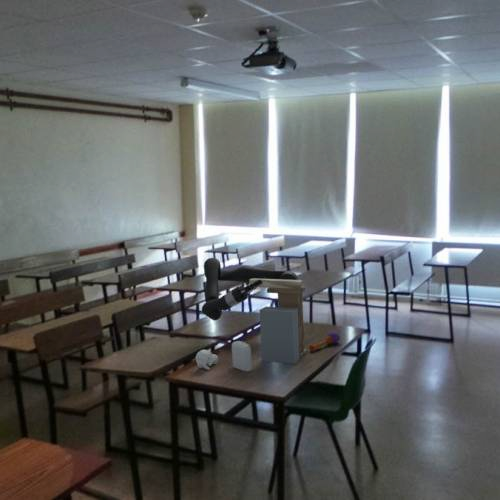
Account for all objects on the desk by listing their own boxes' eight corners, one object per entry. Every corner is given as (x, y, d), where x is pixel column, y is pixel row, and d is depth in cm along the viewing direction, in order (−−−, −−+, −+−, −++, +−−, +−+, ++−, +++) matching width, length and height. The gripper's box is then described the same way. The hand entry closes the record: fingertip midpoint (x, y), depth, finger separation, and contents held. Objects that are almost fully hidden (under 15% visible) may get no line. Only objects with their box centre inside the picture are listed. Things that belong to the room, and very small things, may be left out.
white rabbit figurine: (194, 350, 250) (211, 345, 260) (194, 369, 250) (211, 363, 260) (204, 352, 246) (221, 347, 256) (204, 371, 247) (221, 365, 256)
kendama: (306, 342, 270) (331, 330, 284) (308, 354, 270) (333, 341, 284) (315, 342, 266) (340, 330, 279) (318, 354, 266) (343, 341, 280)
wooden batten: (252, 285, 272) (252, 278, 272) (303, 287, 261) (302, 280, 261) (249, 286, 269) (249, 279, 269) (300, 289, 258) (300, 281, 257)
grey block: (267, 356, 265) (265, 306, 261) (299, 359, 258) (297, 308, 255) (261, 360, 258) (259, 309, 255) (294, 364, 251) (292, 311, 248)
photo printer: (231, 367, 251) (229, 340, 250) (238, 364, 254) (237, 338, 252) (245, 372, 243) (244, 345, 242) (253, 370, 246) (252, 343, 245)
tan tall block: (276, 349, 274) (273, 285, 270) (307, 352, 267) (304, 286, 263) (269, 354, 267) (266, 288, 263) (301, 357, 260) (299, 290, 256)
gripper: (246, 299, 281) (272, 284, 273) (233, 306, 268) (261, 289, 261) (238, 286, 282) (265, 270, 274) (225, 292, 269) (253, 276, 261)
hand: (262, 280), depth 267 cm, fingers open, 4 cm apart
